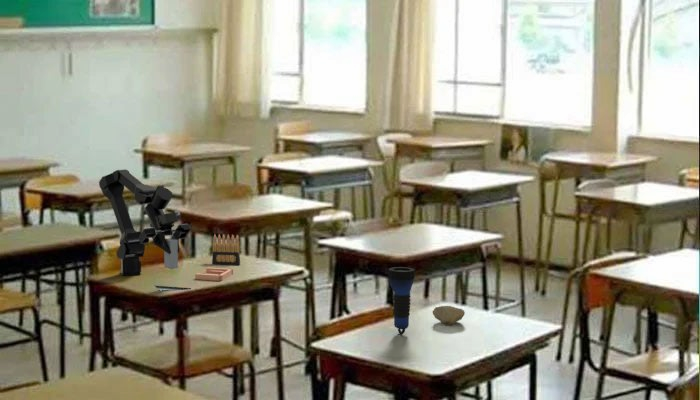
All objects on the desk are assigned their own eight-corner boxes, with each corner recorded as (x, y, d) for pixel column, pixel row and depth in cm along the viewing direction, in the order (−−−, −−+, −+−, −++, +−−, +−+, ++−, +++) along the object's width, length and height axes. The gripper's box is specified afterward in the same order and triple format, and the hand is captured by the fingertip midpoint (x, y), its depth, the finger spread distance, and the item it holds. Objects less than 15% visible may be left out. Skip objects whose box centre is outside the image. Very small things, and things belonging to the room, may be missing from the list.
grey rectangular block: (164, 267, 410) (164, 239, 408) (171, 266, 412) (171, 238, 410) (170, 269, 407) (170, 240, 405) (177, 267, 409) (177, 239, 407)
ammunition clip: (212, 264, 449) (211, 234, 448) (213, 263, 451) (212, 233, 449) (239, 265, 448) (239, 234, 447) (240, 264, 450) (240, 234, 448)
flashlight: (398, 328, 357) (399, 265, 354) (418, 333, 353) (420, 268, 350) (382, 334, 351) (383, 269, 348) (403, 338, 346) (404, 272, 343)
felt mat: (159, 291, 403) (159, 290, 403) (154, 285, 412) (154, 285, 412) (191, 289, 407) (191, 288, 407) (185, 283, 416) (185, 282, 415)
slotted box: (195, 282, 418) (195, 274, 418) (207, 275, 430) (207, 267, 429) (221, 284, 416) (221, 275, 415) (232, 277, 427) (232, 269, 427)
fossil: (468, 307, 361) (438, 302, 359) (468, 320, 359) (437, 314, 357) (458, 321, 369) (428, 315, 367) (458, 333, 366) (428, 327, 364)
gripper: (142, 206, 402) (159, 242, 395) (188, 201, 414) (205, 236, 407) (131, 225, 409) (147, 261, 403) (176, 219, 421) (193, 254, 415)
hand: (174, 252), depth 407 cm, fingers closed on grey rectangular block, 3 cm apart
